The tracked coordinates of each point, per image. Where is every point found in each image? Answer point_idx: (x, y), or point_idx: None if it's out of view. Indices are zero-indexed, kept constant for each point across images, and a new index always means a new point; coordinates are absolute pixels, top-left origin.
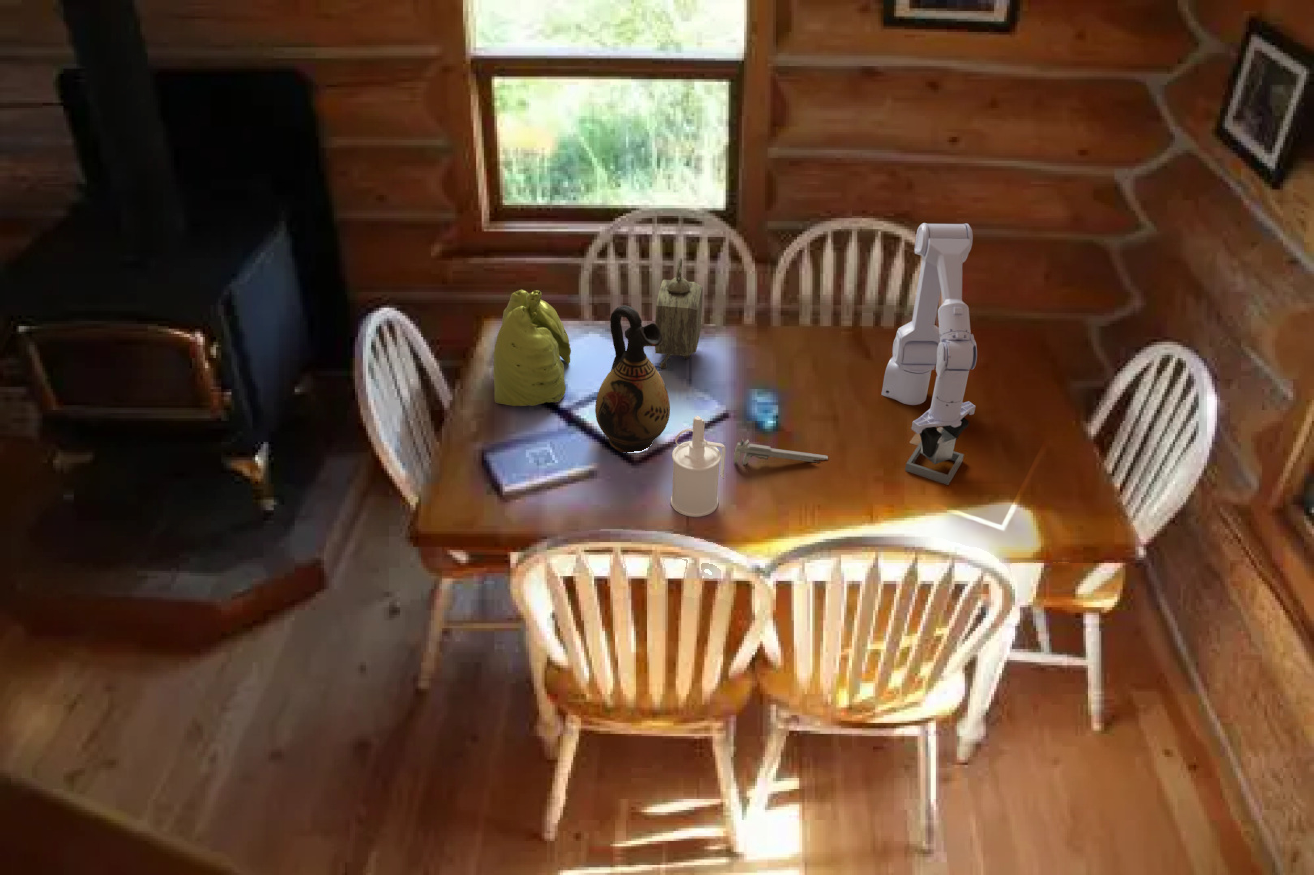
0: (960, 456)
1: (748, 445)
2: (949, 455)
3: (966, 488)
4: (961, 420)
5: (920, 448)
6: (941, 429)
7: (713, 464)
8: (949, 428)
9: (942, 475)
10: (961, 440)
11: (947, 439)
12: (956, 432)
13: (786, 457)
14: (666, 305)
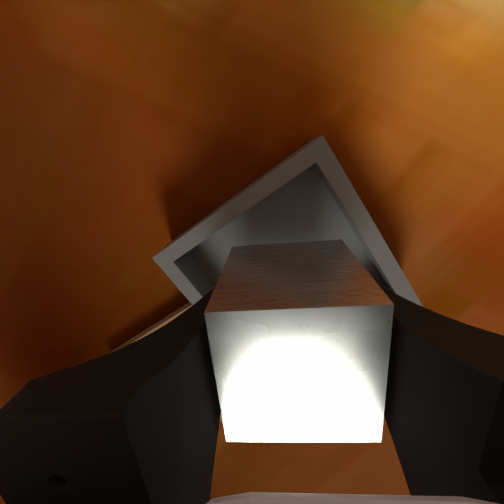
0: (173, 252)
1: None
2: (250, 253)
3: (239, 102)
4: (66, 488)
5: None
6: (243, 422)
7: None
8: (203, 414)
9: (342, 168)
10: (104, 340)
11: (282, 325)
12: (186, 356)
13: None
14: None
